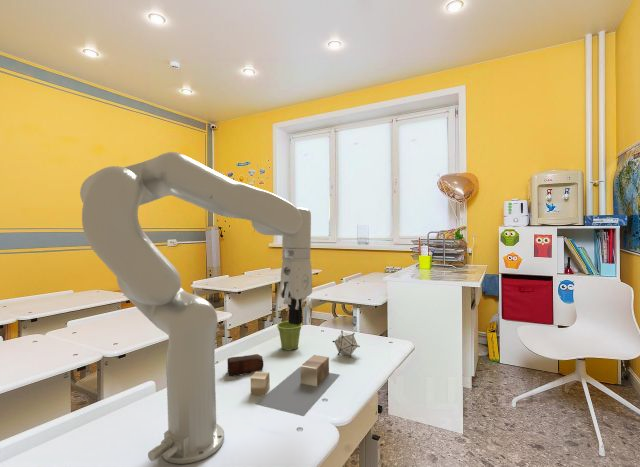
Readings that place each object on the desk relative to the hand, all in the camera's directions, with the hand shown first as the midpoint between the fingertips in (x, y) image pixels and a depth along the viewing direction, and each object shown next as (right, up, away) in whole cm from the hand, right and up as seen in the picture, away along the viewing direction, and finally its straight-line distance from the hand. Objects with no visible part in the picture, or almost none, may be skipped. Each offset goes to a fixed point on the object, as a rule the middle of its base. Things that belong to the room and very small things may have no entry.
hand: (295, 323), depth 92 cm
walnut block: (+3, -17, +6) cm, 18 cm away
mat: (+1, -20, +4) cm, 20 cm away
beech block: (-10, -20, +3) cm, 22 cm away
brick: (-17, -20, +17) cm, 31 cm away
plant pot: (-5, -19, +37) cm, 42 cm away
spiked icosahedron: (+16, -19, +29) cm, 38 cm away
